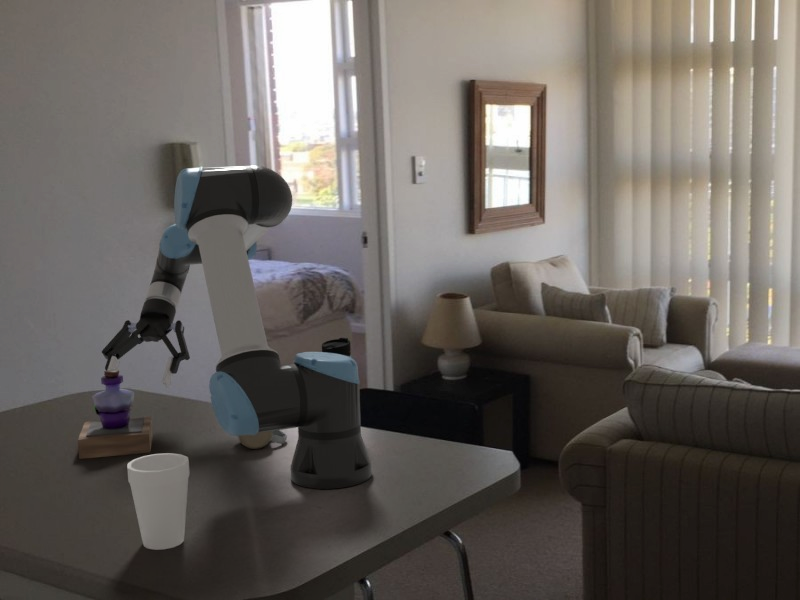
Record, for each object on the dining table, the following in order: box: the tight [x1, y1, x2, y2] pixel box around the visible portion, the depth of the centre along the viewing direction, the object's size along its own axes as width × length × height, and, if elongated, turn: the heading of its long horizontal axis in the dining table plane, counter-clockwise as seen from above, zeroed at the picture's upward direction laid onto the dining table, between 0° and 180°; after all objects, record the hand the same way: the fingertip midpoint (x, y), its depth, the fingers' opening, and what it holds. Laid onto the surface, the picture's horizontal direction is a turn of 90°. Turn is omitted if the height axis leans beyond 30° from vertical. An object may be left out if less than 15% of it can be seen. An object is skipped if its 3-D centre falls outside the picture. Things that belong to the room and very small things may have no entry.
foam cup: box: [127, 452, 191, 551], centre depth 156 cm, size 10×9×13 cm
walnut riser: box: [77, 416, 154, 460], centre depth 210 cm, size 14×14×4 cm
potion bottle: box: [91, 369, 135, 430], centre depth 209 cm, size 9×9×12 cm
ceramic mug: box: [236, 430, 288, 450], centre depth 208 cm, size 11×8×8 cm
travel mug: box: [321, 337, 352, 358], centre depth 215 cm, size 6×7×20 cm
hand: (136, 384), depth 219 cm, fingers open, 13 cm apart
